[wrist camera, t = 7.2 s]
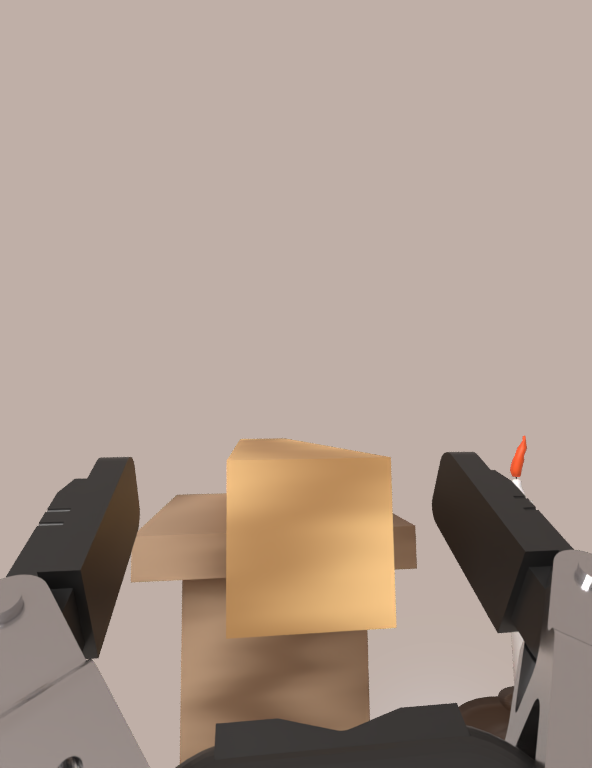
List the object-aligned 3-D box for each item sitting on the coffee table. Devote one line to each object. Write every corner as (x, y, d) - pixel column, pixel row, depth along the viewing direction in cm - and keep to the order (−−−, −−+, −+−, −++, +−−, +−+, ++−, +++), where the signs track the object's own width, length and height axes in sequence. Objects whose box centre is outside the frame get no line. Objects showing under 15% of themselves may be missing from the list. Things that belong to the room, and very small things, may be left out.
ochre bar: (285, 483, 30) (285, 438, 30) (396, 627, 8) (391, 457, 8) (240, 484, 29) (240, 439, 30) (226, 639, 8) (226, 460, 8)
